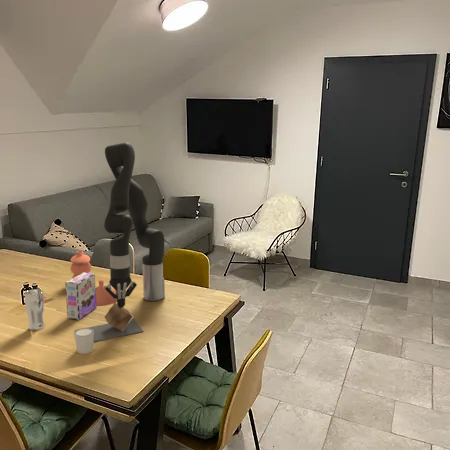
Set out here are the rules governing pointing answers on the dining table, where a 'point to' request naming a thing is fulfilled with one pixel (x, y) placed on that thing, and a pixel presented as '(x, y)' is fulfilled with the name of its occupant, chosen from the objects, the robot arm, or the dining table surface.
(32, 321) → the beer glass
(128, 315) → the walnut cube
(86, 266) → the ceramic vessels
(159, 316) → the dining table surface
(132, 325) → the placemat
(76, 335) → the shot glass
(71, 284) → the candy box
